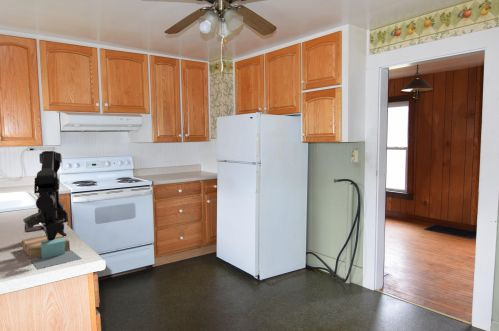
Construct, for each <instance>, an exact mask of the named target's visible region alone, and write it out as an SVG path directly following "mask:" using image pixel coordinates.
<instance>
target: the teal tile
mask: <svg viewBox="0 0 499 331" xmlns="http://www.w3.org/2000/svg"><path fill="white" fill-rule="evenodd" d="M65 252H66V251H65V239H64V238H60V239H55V240H49V241H44V242H41V256H42V258H48V257H52V256H57V255H61V254H65Z"/></svg>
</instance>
